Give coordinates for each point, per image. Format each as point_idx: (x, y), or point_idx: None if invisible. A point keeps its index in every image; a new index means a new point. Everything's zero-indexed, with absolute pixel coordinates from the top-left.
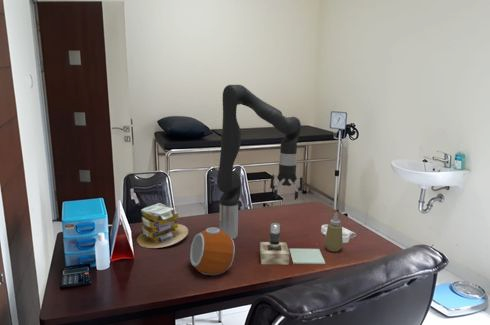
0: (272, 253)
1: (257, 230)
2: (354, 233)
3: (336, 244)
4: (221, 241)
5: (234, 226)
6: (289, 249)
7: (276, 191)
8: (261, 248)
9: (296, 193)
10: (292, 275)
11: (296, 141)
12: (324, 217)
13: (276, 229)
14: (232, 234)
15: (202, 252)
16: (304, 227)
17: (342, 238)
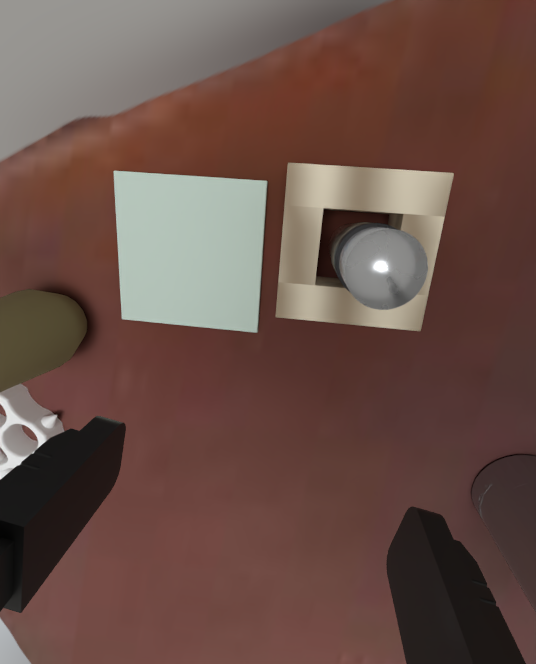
0: (387, 170)
1: (363, 527)
2: None
3: (24, 291)
4: None
5: (532, 506)
6: (257, 326)
7: (478, 635)
8: (435, 244)
9: (18, 488)
10: (297, 43)
11: None
12: (61, 602)
13: (378, 228)
14: (520, 472)
15: None
16: (153, 531)
17: (2, 391)
